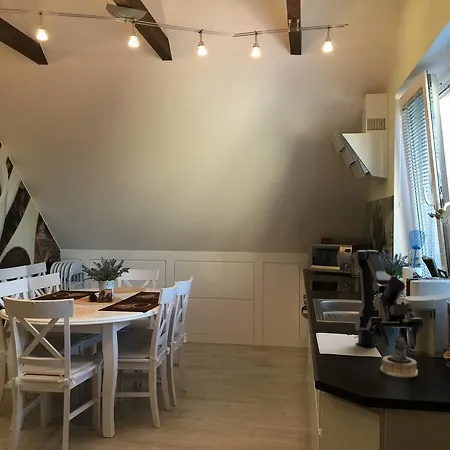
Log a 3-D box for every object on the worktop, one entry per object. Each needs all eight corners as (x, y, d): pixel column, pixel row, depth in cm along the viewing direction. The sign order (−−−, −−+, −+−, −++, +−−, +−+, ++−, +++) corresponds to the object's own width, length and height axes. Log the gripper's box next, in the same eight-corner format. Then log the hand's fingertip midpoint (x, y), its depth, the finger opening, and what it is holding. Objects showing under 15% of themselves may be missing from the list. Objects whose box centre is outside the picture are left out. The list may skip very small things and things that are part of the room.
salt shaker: (388, 365, 175) (390, 331, 175) (406, 366, 174) (407, 332, 174) (391, 370, 170) (392, 335, 169) (409, 372, 168) (411, 336, 168)
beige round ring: (373, 369, 174) (373, 357, 173) (395, 364, 180) (396, 353, 180) (402, 379, 163) (402, 367, 163) (425, 374, 170) (425, 362, 170)
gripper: (370, 294, 175) (380, 333, 164) (423, 295, 176) (436, 334, 165) (362, 312, 183) (371, 350, 172) (413, 313, 184) (425, 351, 173)
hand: (401, 346), depth 170 cm, fingers open, 9 cm apart
